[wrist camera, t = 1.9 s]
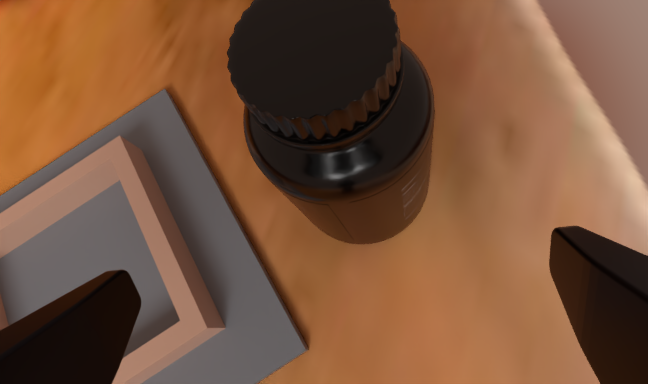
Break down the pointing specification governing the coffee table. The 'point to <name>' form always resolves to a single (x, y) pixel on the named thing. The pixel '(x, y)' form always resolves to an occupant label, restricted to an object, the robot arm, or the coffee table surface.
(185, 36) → the coffee table surface
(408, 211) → the supplement bottle
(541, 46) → the coffee table surface
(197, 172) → the dock tray
